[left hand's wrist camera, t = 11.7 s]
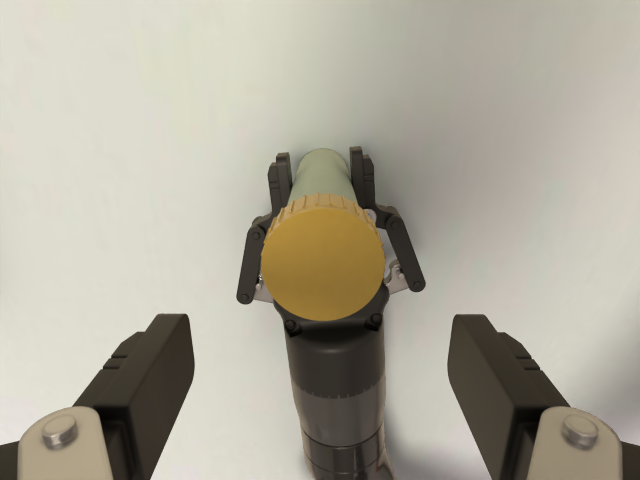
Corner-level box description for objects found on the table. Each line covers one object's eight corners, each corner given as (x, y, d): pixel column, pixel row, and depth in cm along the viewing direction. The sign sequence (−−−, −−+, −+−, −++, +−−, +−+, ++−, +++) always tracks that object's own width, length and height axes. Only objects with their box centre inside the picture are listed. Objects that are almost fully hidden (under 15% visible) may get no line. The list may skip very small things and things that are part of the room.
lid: (369, 180, 18) (375, 194, 15) (386, 285, 19) (395, 311, 17) (253, 204, 18) (244, 220, 16) (281, 304, 20) (276, 332, 18)
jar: (342, 143, 33) (363, 206, 16) (351, 192, 34) (380, 297, 17) (292, 154, 33) (261, 226, 16) (303, 202, 35) (285, 315, 18)
